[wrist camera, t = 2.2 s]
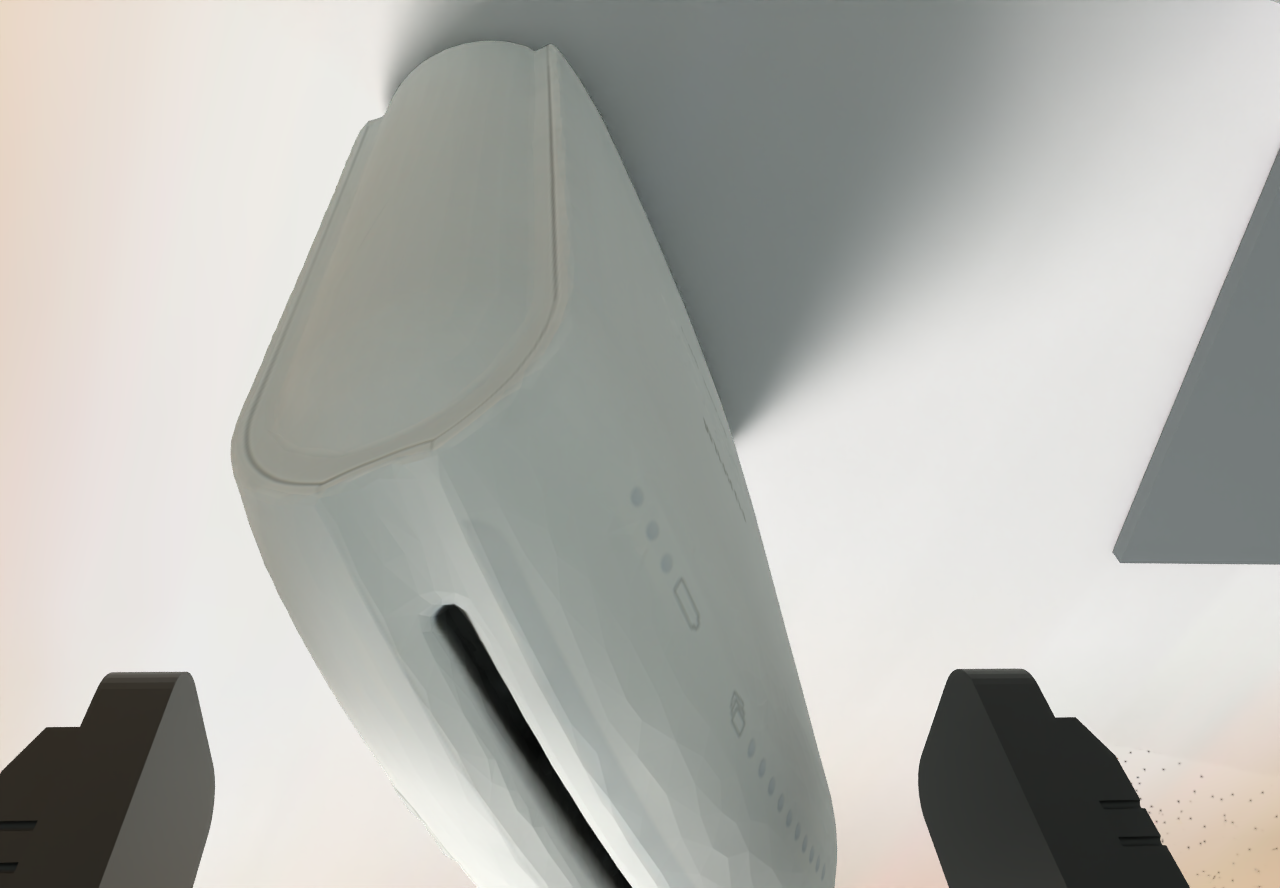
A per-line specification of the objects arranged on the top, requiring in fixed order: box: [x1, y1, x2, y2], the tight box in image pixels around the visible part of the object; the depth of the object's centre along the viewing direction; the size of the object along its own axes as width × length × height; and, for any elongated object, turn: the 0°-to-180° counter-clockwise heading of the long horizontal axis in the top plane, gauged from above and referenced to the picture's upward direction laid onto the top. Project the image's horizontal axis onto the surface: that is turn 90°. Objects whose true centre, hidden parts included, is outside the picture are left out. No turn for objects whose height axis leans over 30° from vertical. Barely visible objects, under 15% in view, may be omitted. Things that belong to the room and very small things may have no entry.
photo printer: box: [231, 40, 837, 888], centre depth 15 cm, size 10×4×12 cm, turn 21°
